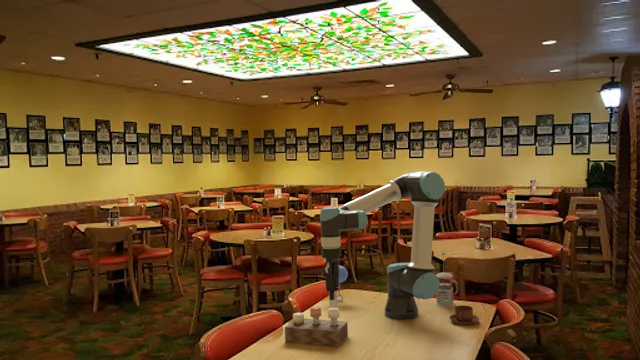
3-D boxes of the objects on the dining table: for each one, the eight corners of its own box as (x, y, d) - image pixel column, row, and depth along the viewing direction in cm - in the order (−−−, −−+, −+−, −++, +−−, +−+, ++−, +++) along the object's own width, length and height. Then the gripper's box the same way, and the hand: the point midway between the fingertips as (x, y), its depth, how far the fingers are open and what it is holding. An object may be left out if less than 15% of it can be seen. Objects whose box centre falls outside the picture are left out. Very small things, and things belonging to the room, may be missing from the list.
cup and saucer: (480, 327, 201) (480, 312, 201) (450, 326, 203) (450, 311, 203) (477, 318, 213) (476, 304, 213) (448, 317, 215) (448, 303, 215)
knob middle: (323, 324, 195) (322, 306, 195) (319, 327, 191) (318, 309, 191) (313, 323, 197) (312, 306, 196) (309, 326, 192) (308, 309, 192)
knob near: (341, 325, 192) (340, 307, 192) (337, 329, 188) (337, 311, 188) (330, 324, 194) (330, 307, 194) (327, 328, 190) (326, 310, 190)
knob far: (306, 330, 198) (305, 313, 198) (302, 333, 194) (301, 316, 193) (296, 329, 199) (295, 312, 199) (291, 332, 195) (291, 315, 195)
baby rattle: (349, 298, 252) (347, 263, 252) (348, 303, 243) (347, 267, 243) (332, 298, 253) (331, 264, 253) (331, 303, 244) (329, 267, 244)
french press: (440, 300, 242) (438, 250, 242) (462, 303, 235) (460, 251, 234) (430, 305, 235) (429, 253, 234) (453, 308, 227) (452, 255, 227)
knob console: (347, 336, 196) (347, 321, 196) (338, 347, 184) (337, 331, 184) (297, 332, 203) (296, 317, 203) (285, 342, 192) (284, 327, 192)
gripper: (327, 244, 198) (329, 302, 198) (316, 249, 186) (318, 311, 186) (345, 244, 195) (347, 303, 196) (334, 250, 183) (337, 312, 184)
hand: (333, 307), depth 191 cm, fingers closed
